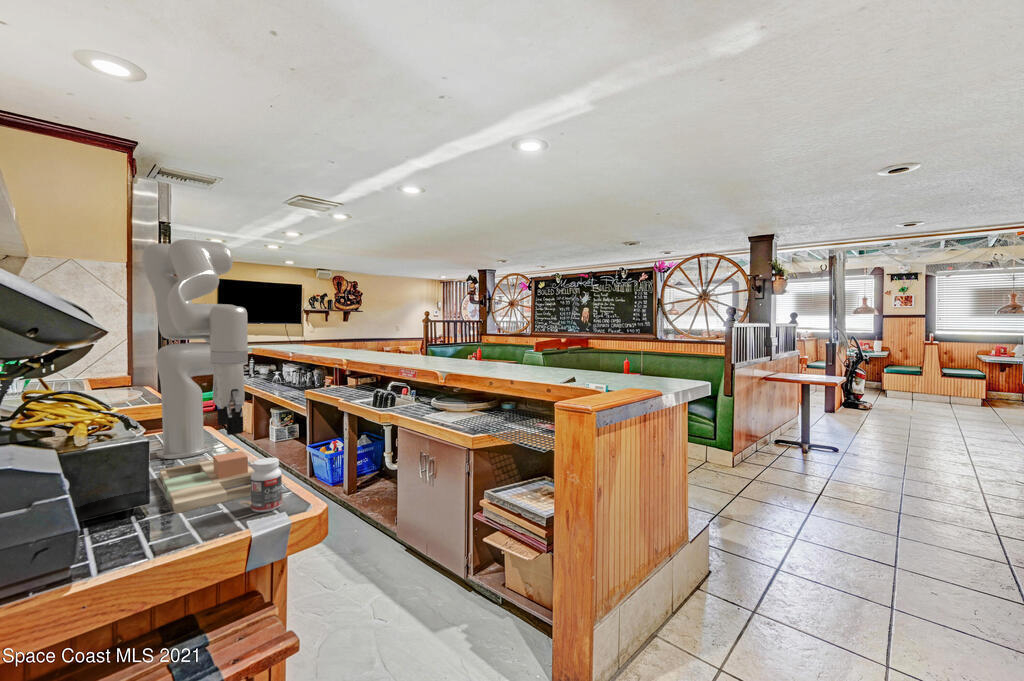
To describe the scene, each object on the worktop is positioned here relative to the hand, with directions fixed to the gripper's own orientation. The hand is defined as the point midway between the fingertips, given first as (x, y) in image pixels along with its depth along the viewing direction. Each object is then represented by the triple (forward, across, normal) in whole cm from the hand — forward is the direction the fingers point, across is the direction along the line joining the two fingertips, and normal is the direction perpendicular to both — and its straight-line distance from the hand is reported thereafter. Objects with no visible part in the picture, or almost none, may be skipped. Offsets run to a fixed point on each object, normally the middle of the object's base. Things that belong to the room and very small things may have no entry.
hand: (230, 428), depth 108 cm
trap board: (+13, -1, -4) cm, 14 cm away
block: (+11, -1, 0) cm, 11 cm away
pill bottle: (+12, +22, +2) cm, 25 cm away
